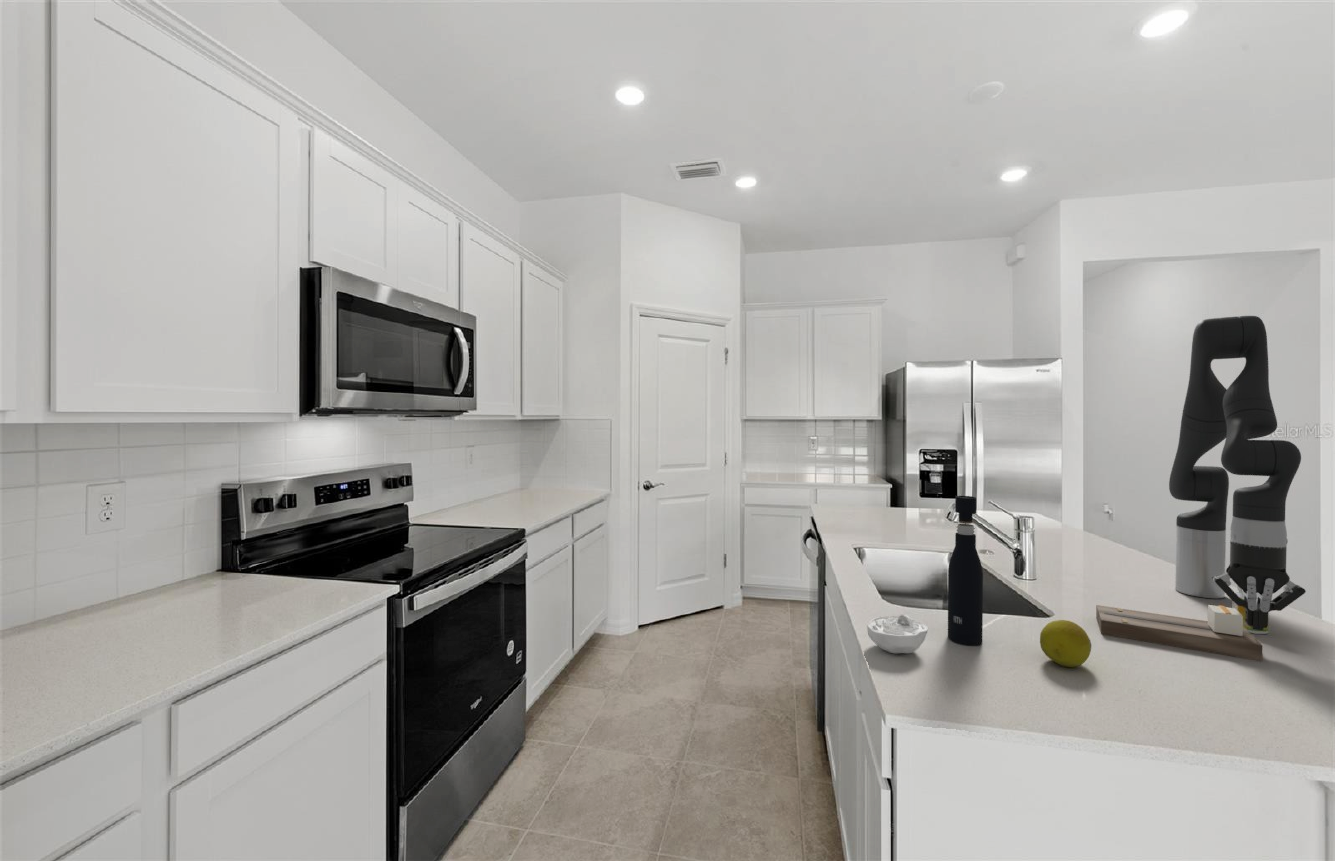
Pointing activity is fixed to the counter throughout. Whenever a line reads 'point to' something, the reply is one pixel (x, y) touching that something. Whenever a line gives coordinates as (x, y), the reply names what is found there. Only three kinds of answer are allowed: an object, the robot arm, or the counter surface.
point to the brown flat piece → (1175, 632)
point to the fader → (1225, 620)
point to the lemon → (1065, 643)
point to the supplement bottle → (1242, 612)
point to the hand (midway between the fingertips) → (1255, 628)
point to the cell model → (897, 633)
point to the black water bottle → (965, 580)
